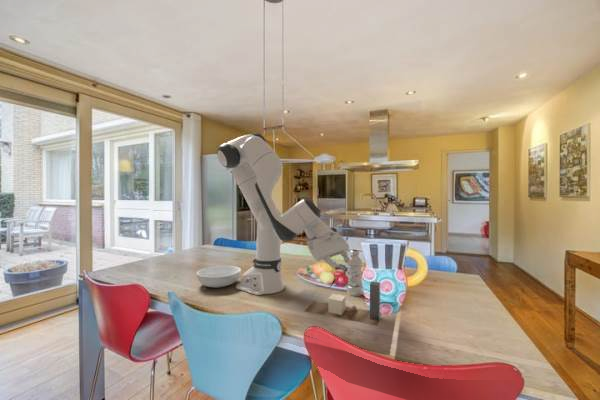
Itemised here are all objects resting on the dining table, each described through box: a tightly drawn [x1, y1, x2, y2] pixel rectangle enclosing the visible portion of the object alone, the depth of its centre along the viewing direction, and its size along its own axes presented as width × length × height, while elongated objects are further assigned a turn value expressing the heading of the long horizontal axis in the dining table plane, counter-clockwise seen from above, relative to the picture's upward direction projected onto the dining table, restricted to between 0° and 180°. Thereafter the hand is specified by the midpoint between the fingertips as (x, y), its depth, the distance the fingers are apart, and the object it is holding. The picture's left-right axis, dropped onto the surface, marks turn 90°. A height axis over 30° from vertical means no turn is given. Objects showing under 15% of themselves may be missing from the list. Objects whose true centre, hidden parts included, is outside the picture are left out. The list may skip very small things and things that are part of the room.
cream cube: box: [327, 293, 347, 315], centre depth 95 cm, size 5×5×5 cm
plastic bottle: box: [346, 249, 363, 297], centre depth 113 cm, size 6×7×20 cm
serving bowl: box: [196, 265, 242, 289], centre depth 128 cm, size 21×21×7 cm
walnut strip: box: [304, 281, 382, 326], centre depth 95 cm, size 26×10×13 cm, turn 66°
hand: (342, 264), depth 97 cm, fingers open, 8 cm apart
